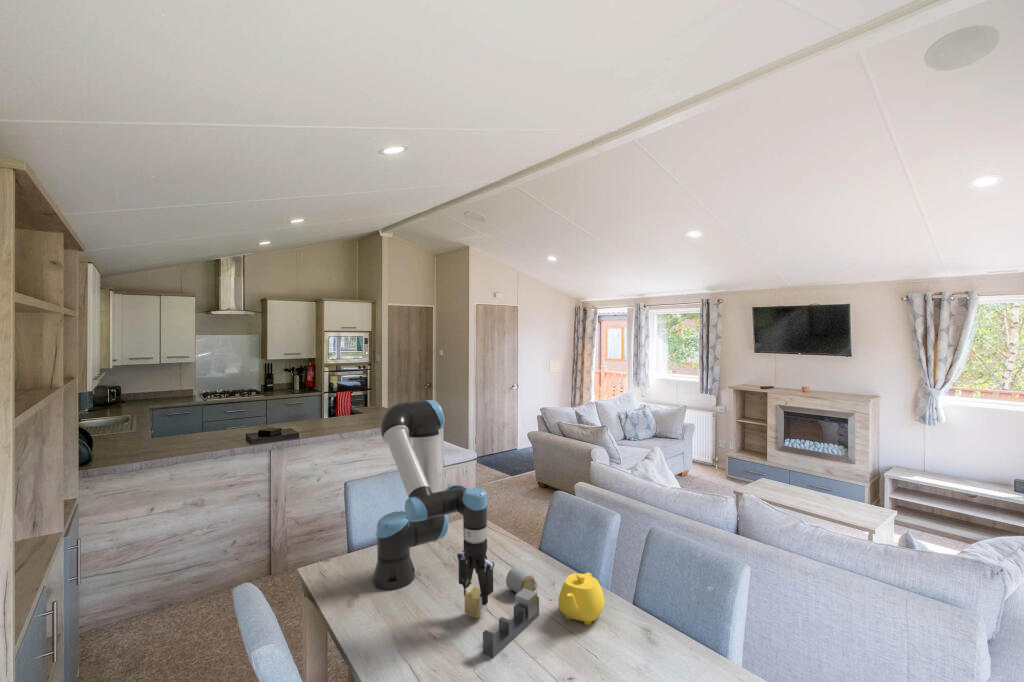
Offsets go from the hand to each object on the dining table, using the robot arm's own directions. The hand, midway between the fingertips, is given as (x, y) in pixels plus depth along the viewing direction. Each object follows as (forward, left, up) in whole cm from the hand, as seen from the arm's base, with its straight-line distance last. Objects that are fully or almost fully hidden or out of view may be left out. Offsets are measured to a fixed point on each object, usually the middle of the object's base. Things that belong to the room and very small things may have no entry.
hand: (475, 610), depth 152 cm
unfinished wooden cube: (0, 0, 0) cm, 0 cm away
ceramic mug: (+4, +21, -2) cm, 22 cm away
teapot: (+28, +18, -2) cm, 33 cm away
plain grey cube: (+15, +7, 0) cm, 16 cm away
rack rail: (+15, 0, -2) cm, 15 cm away
